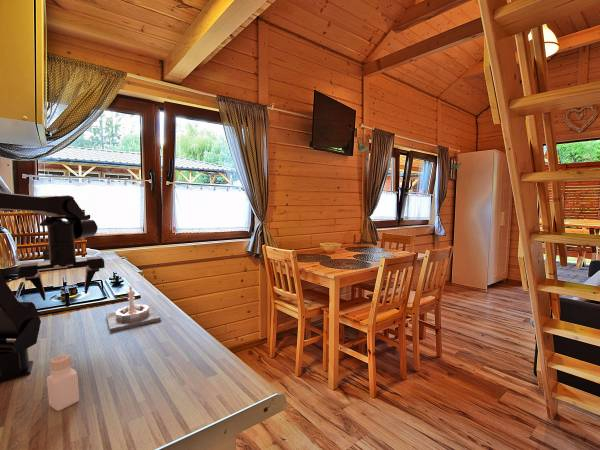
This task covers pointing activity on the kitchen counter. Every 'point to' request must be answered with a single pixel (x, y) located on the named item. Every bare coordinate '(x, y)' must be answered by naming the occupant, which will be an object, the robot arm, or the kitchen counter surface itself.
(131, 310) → the chess piece
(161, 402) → the kitchen counter surface
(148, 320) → the hub plate
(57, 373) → the salt shaker
